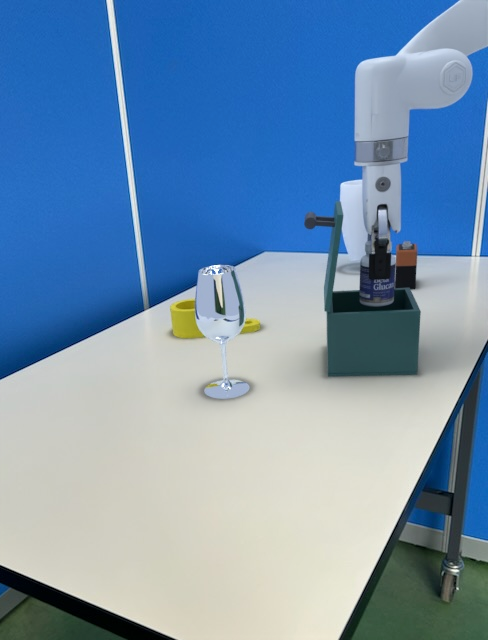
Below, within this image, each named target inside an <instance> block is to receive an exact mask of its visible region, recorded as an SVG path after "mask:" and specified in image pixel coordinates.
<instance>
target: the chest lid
mask: <svg viewBox="0 0 488 640" xmlns="http://www.w3.org/2000/svg"><path fill="white" fill-rule="evenodd" d="M333 208H334V209H333V215H332V216H326V215H325V216H324V215H323V216H322V215H317V214H316V213H315V212H313V211H308V212H307V213H305V215H304V224H303V225H304V227H305V228H306V229H307V230H314V229H315V227H326V228H327V227H328V228H331V232H330V239H329V247H328V254H327V261H326V270H325V277H324V284H323V303H324V304H323V305H324V307H323V309H324V312H326V313H327V312H330V309H331V301H332V294H333V291H334V286H335V281H336V273H337V272H336V271H337V266H338V264H337V263H338V257H339V250H340V243H341V235H342V223H343V211H342V206H341V201H340V200H335V202H334V207H333Z"/></svg>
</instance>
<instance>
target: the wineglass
mask: <svg viewBox="0 0 488 640" xmlns="http://www.w3.org/2000/svg"><path fill="white" fill-rule="evenodd" d="M194 299H195V318H196V323H197V326H198V328H199V330H200V331H201V332H202V334H203V335H204V336H206V337H205V338H207V339H208V340H210V341H213V342H216V343H218V345H219V348H220V352H221V361H222V364H221V365H222V373H223V377H222V380H217V381H214V382H211V383H209V384H208V385H206V386H205V387H204V391H203V392H204V394H205V395H206V396H208V397H210V398H213V399H221V400H225V399H227V400H229V399H234V398H237V397H241V396H243V395H245V394H247V393H248V392H249V390H250V385H249V384H248V383H247V382H246V381H243V380H239V379H230V378H229V374H228V373H229V371H228V362H227V344H228V342H230V341H231V340H233V339H235V338H236V337H237V336H238V335H239V334H241V333H240V332H241V330H242V328H243V326H244V324H245V320H246V319H247V317H246V316H247V311H246V304H245V299H244V294H243V291H242V288H241V282H240V280H239V276H238V274H237V270H236V267H235V266H233V265H229V264H217V265H210V266H206V267H202V268H200V269H199V270H198V272H197V280H196V287H195V298H194Z"/></svg>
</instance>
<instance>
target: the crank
mask: <svg viewBox="0 0 488 640" xmlns="http://www.w3.org/2000/svg"><path fill="white" fill-rule="evenodd" d="M169 310H170V318H171V319H170V320H171V327H172V334H173V336H174V337H177V338H181V339H197V338H198V339H199V338H207V337H206V336H204V335H203V334H202V332H201V331H200V330H199V328H198V326H197V323H196V318H195V298H188V299H182V300H178V301H176V302H173V303H172V304H171V305H170V306H169ZM259 330H261V321H260V320H259V319H257V318H246V320H245V324H244V326H243V328H242V330H241V332H240V333H239V334H249V333H254V332H257V331H259Z"/></svg>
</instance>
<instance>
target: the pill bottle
mask: <svg viewBox="0 0 488 640" xmlns="http://www.w3.org/2000/svg"><path fill="white" fill-rule="evenodd" d="M375 241H376V240H375ZM392 248H393V241H391V240H390V252H391V276H390V278H389V279H381V280H370V279H369V254H371V240H370V241H367V242H366V243H365V252H366V253H367V254H366V255H365V256H363V257H362V258H361V261H359V290H360V293H359V300H360V303H361V304H363V305H366V306H372V307H381V306H386V305H389V304H391V303H393V301H394V288H395V273H396V256H394V255H393V254H392Z"/></svg>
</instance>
